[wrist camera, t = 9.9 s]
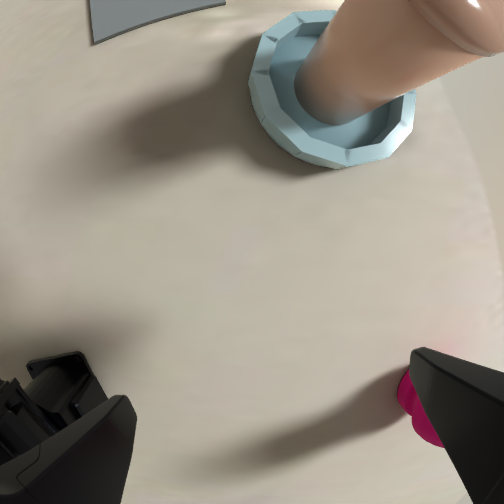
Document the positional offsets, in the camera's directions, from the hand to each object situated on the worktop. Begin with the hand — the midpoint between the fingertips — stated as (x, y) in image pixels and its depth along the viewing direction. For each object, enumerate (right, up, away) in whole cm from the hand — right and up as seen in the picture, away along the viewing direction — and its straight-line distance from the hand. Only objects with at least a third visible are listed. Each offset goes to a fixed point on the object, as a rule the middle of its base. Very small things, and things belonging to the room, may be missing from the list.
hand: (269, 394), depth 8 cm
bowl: (+5, +15, +11) cm, 19 cm away
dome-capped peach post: (+5, +15, +10) cm, 19 cm away
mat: (-8, +25, +8) cm, 27 cm away
